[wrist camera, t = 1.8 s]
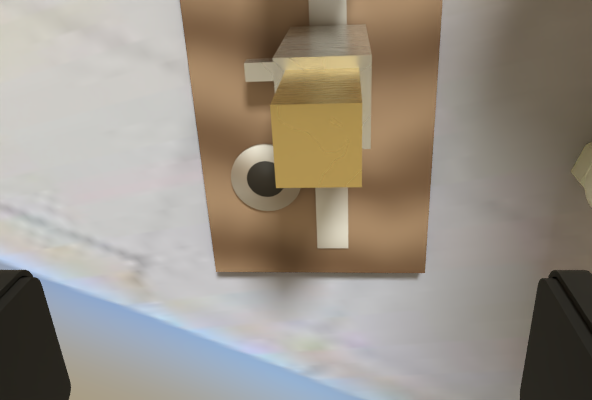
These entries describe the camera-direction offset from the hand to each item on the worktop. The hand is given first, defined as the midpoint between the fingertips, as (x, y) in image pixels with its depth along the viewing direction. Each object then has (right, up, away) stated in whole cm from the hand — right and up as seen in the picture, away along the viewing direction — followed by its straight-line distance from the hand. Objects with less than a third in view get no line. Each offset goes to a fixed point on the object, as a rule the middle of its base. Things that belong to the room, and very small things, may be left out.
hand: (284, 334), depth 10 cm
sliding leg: (+1, +10, +20) cm, 22 cm away
